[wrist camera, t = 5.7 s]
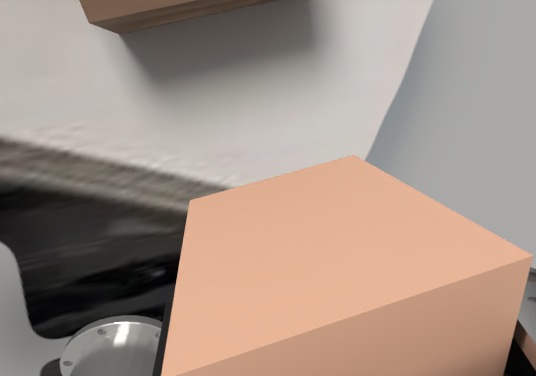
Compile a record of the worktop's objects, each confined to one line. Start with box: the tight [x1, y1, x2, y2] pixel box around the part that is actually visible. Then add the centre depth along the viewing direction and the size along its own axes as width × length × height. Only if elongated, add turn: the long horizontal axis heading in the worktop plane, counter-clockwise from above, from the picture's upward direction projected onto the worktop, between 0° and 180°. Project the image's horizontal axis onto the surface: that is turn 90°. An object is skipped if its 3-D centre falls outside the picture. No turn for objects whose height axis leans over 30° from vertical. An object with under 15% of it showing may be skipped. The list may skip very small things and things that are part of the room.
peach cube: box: [161, 155, 533, 376], centre depth 8 cm, size 6×6×6 cm
